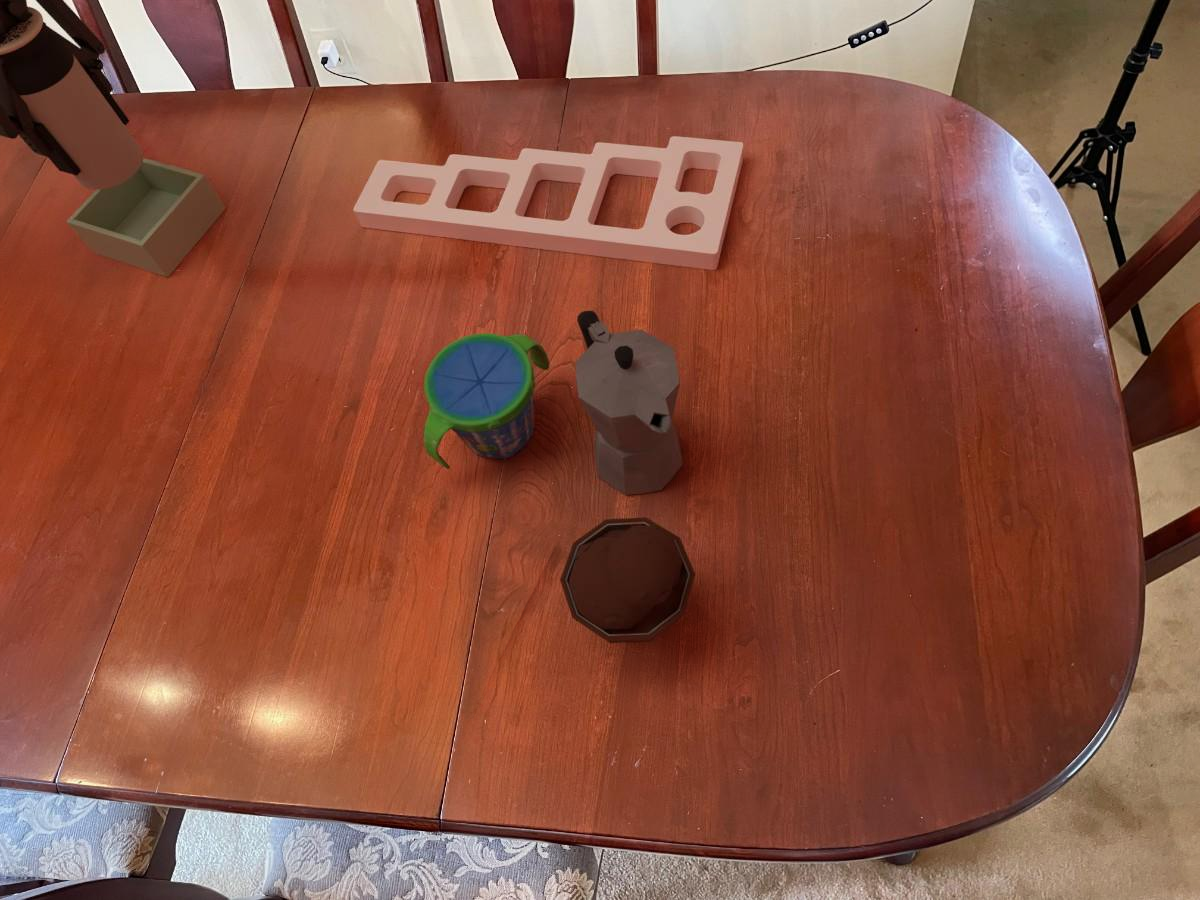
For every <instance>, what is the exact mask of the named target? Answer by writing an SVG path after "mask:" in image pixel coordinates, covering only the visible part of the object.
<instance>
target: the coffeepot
mask: <svg viewBox="0 0 1200 900" xmlns="http://www.w3.org/2000/svg"><path fill="white" fill-rule="evenodd" d="M576 321H577V323H578V326H579V329H580V332H581V334H582V337H583V339H584V342H585V346H586V350H585V351H584V352H583V353H582V355H580V357H578V358H577V360H575V362H574V369H575V377H576V388H577V398H578V399H579V401H580V403H581V405H582V407H583V408H584V411H585V412H586V414H587V416H588V418H589V420H590V422H591V423H592V425H593V427H594V429H595V434H594V435H595V436H594V445H593V446H594V455H595V465H596V475H597V477H598V478H599V479H601V480H602V481H604V482H605V483H606V484H608V485H609V486H610V487H611V488H613V489H615V490H616V491H619V492H620V493H622V494H623V495H625V496H630V495H631V496H632V495H645V494H649V493H654V492H659V491H662V490H663V489H664V488H665V487H666V485H668V484H669V482H670V481H672V479H673V478H674V477H675V476H676V473H677V472H678V471H679V470H680V469H681V468H682V467H683V465H684V464H683V463H684V462H683V456H682V452H681V446H680V445H681V444H680V439H679V434H678V431H677V429H676V426H675V423H674V421H673V417H674V411H675V407H676V403H677V398H678V394H679V390H680V386H681V385H680V384H681V382H680V381H681V380H680V376H679V370H678V365H677V358H676V353H675V352H676V351H675V348H674V347H673V346H670V345H669V344H667V343H665V342H664V341H662V340H660V339H658V338H657V337H655V336H653V335H652V334H650V333H648V332H646V331H645V330H644V329H635V330H628V331H627V330H626V331H620V332H614V333H611V331H610V330H609V329H608V327H607V326H606V324H605V323H604V322H603V320H602V321H600V319H599V316H598V314H597V313H596V312H595V311H594V310H583V311H581V312H580V313H578V315H577V319H576Z"/></svg>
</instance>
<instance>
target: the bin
mask: <svg viewBox="0 0 1200 900" xmlns="http://www.w3.org/2000/svg"><path fill="white" fill-rule="evenodd" d="M226 209H227V207H226V205H225V204H224V202H223V200H222V199H221V198H220V196H219V195H218V193H217V192H216V190H215V189H214V187H213V186H212V184H211V183H210V181H209V180H208V178H207V176H206V175H205V174H203V173H200V172H196V171H193V170H189V169H185V168H181V167H178V166H174V165H170V164H167V163H165V162H160V161H157V160H154V159H149V158H146V157H144V158H143V162H142V165H141V166H140V168H139V169H138V171H137V172H136V173H135V174H134V175H133V176H132V177H130V178H129V179H128V180H126V181H125V182H123V183H121V184H119V185H117V186H114V187H111V188H107V189H100V190H95V189H94V191H93V192H92V194H90V195H89V196H88V198H86V200H85V201H84V202H83V203H82V204H81V205H80V206H79V207H78V208H77V210H76V211H74V212H73V214H71V215H70V217H69V218H68V219H67V220H66V224H68V226H69V227H70V228H71V229H72V230H73V231H74V233H76V235H77V236H78V237H79V239H81V240H82V241H83V242H84V243H85V245H86V246H87V247H88V248H89V249H90V250H91V251H92V252H93V254H95V255H99V256H101V257H105V258H107V259H111V260H114V261H116V262H120V263H123V264H125V265H129V266H131V267H135V268H138V269H142V270H144V271H147V272H149V273H153V274H156V275H158V276H159V275H160V276H162V277H165V278H169V277H170V276H171V275H172V274H173V272H174V271H175V270H176V269H177V268H178V266H179V265H180V264H181V263H182V262H183V260H185V258H186V257H187V255H188V254H189V253H190V252H191V251H192V249H193V248H195V246H196V245H197V244H198V243H199V242H200V240H201V239H202V238H203V236H205V234H206V233H207V232H208V231H209V230H210V228H211V227H212V226H213V225H214V223H216V221H217V220H218V219H219V217H221V215H222V214H223V213H224V212H225V210H226Z"/></svg>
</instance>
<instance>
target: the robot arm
mask: <svg viewBox="0 0 1200 900" xmlns="http://www.w3.org/2000/svg"><path fill="white" fill-rule="evenodd" d="M35 2H37V3H38V5H39V6H40V7H41V8H42V9H43V10H44V11H45V12H46V13H47V15H49V16H50V18H51V19H53V20H54V22H55V23H56V24H57V25H58V26H59V27H60V28H61V29H62V30H63V31H64V32H65V33H66V34H67V35H68V36H69V38H71V40H73V42H74V43H75V44H74V43H73V42H72V41H71V40H69V39H67V38H66V37H64V36H63V35H61V34H60V33H59V32H57V31H55V29H52V28H51V27H50V26H48V25H47V23H46V22H45V21H43V23H44V25H45V27H46V29H47V30H48V31H50V32H52V33H54V34H55V35H57V36H59V37H60V38H61V39H62V40H63V41H64V42H65V44H66V45H67V47H68V48H69V49H70V51H71V52H72V53H73V55H74V56H75V58H76V59H77V60H78V62H79V63H80V65H81V66H82V67H83V69H84V70H85V71H86V73H87V74H88V76H89V77H90V78H91V80H92V81H93V83H94V84H95V85H96V87H97V88H98V89H99V91H100V92H101V94H102V95H103V96H104V98H105V99H106V101H107V102H108V103H109V105H110V106H111V107H112V109H113V110H114V112H115V113H116V114H117V116H118V117H119V119H120V120H121V121H122V123H123V124H124V125H125V126H127V124H129V123H130V120H129V118H128V116H127V115H126V114H125V113H124V111H123V109H122V108H121V107H120V106H119V104H118V102H117V101H116V100H115V98H114V97H113V96H112V94H111V93H112V92H113V91H114V88H113V85H112V84H111V81H109V79H108V78H107V76H106V75H105V73H104V72H103V71H102V70H103V69H104V62H103V61H102V59H99V57H100V55H104V53H105V52H106V47H105V44H104V43H103V42H102V41H101V40H100V38H98V36H97V35H96V34H95V33H94V32H93V31H92V30H91V29H90V28H89V26H87V24H86V23H84V21H83V20H82V19H81V18H80V16H79V15H77V14H76V13H75V11H74V10H73V9H72V8H71V7H70V5H68V4H67V3H66V1H64V0H35ZM27 7H28V2H27V0H0V44H1V43H3V42H4V41H5V40H6V36H5V35H6V34H7V33H8V32H10V31H11V30H12V29H13V28H14V27H15V26H16V25H17V24H19V23H20V22H23V23H25V22H26V21H27V20H28V19H29V18H31V17H32V16H33V14H31V13H30V12H29V11H28V8H27ZM4 64H5V61H4V60H3V59H2V58H1V59H0V136H1V137H4V138H8V139H11V140H14V139H17V137H18V136H19V137H20V138H21V140H23V142H24V143H25V144H26V146H28V148H29V149H30V150H31V151H32V152H33V153H35V154H37V155H40V156H43V157H46V158H47V159H49V160H50V162H51V163H52V164H53V165H54V166H55V168H56V169H57V170H58V171H60V172H62V173H66V174H70V175H72V176H74V175H76V176H77V175H78V174H79V173H80V172H81V170H80V169H79V168H78V167H77V166H76V164H75V163H74V162H73V161H72V159H71V158H70V157H69V156H68V155H67V153H66V152H65V151H64V150H63V149H62V147H61V146H60V145H59V144H58V143H57V141H56V140H55V139H54V138H53V136H52V135H51V134H50V133H49V132H48V130H47V129H46V128H45V127H44V126H43V124H41V123H37V122H32V119H31V116H30V114H29V111H28V108H27V105H26V103H25V102H24V100H23V99H22V98H21V97H20V96H19V94H18V93H17V92H16V91H15V89H14V88H13V87H12V86H11V85H10V83H9V81H8V77H7V74H6V70H5V65H4Z"/></svg>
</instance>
